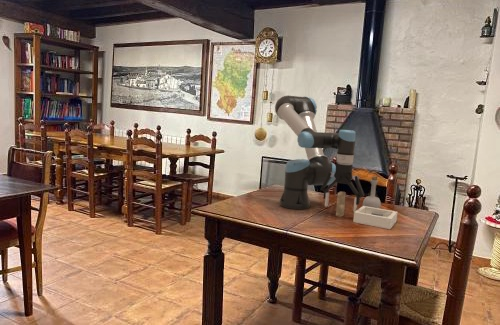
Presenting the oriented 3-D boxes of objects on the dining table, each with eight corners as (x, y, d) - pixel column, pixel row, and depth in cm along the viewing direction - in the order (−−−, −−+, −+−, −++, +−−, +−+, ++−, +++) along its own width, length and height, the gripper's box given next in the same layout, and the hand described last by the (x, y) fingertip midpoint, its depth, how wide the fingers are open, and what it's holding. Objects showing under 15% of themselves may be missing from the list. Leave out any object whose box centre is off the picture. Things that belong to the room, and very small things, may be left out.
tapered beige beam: (335, 215, 173) (337, 192, 171) (338, 214, 176) (340, 191, 175) (341, 216, 171) (343, 193, 170) (343, 215, 175) (345, 192, 174)
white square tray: (353, 222, 164) (354, 212, 163) (362, 214, 177) (362, 205, 177) (390, 229, 156) (391, 219, 156) (396, 221, 169) (397, 211, 169)
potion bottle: (381, 214, 181) (385, 178, 179) (362, 212, 183) (366, 176, 180) (379, 209, 189) (382, 175, 187) (361, 208, 191) (364, 173, 189)
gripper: (315, 161, 174) (312, 205, 176) (370, 167, 161) (365, 215, 164) (321, 159, 180) (317, 202, 183) (374, 166, 168) (369, 211, 170)
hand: (340, 208), depth 173 cm, fingers open, 13 cm apart
